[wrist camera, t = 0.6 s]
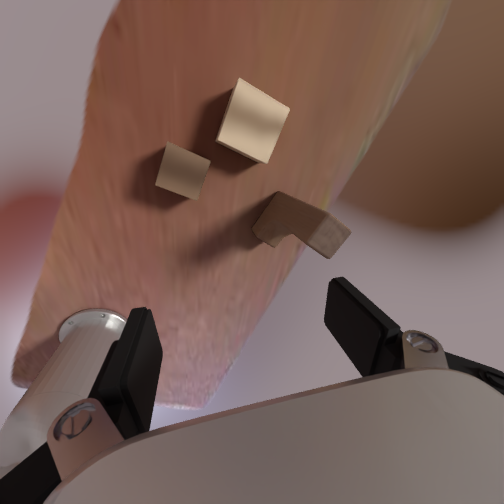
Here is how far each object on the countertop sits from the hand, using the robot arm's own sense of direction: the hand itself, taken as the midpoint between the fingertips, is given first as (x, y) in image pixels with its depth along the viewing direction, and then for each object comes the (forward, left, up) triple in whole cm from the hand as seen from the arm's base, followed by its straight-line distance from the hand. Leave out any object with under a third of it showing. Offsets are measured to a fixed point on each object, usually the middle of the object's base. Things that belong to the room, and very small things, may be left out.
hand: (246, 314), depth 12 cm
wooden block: (+2, -12, -31) cm, 34 cm away
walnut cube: (+3, +6, -31) cm, 32 cm away
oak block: (+13, -1, -31) cm, 34 cm away
